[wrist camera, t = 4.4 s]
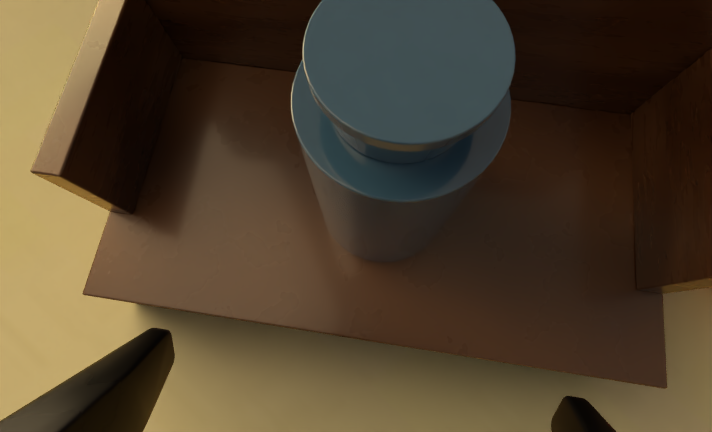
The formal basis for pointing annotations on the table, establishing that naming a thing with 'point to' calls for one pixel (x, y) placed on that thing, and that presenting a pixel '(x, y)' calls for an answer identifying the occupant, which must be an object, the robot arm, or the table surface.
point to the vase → (400, 115)
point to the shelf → (463, 229)
